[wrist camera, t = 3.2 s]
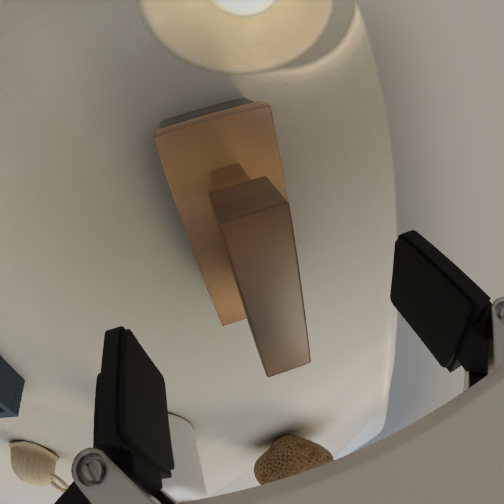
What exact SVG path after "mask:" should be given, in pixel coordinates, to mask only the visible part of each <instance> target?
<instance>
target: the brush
mask: <svg viewBox="0 0 504 504" xmlns="http://www.w3.org/2000/svg"><path fill="white" fill-rule="evenodd" d="M153 139H154V142H155V145H156V149H157V152H158V155H159V158H160V161H161V164H162V167H163V169H164V172H165V175H166V178H167V181H168V184H169V187H170V190H171V193H172V195H173V198H174V201H175V204H176V207H177V210H178V212H179V215H180V218H181V221H182V223H183V226H184V229H185V231H186V234H187V237H188V240H189V242H190V245H191V248H192V250H193V253H194V255H195V258H196V261H197V263H198V266H199V268H200V271H201V274H202V276H203V279H204V281H205V284H206V286H207V289H208V291H209V294H210V296H211V299H212V301H213V304H214V306H215V309H216V311H217V314H218V316H219V318H220V321H221V323H222V325H223V326H224V325H227V324H230V323H233V322H237V321H240V320H243V319H246V318H247V320H248V323H249V326H250V329H251V332H252V335H253V338H254V341H255V344H256V347H257V350H258V353H259V356H260V358H261V361H262V364H263V367H264V370H265V373H266V376H267V377H271V376H274V375H277V374H280V373H283V372H286V371H288V370H291V369H294V368H297V367H300V366H302V365H305V364H308V363H310V362H311V360H310V351H309V342H308V334H307V326H306V318H305V310H304V302H303V294H302V287H301V280H300V273H299V266H298V259H297V252H296V245H295V238H294V232H293V225H292V219H291V213H290V207H289V203H288V201H287V195H286V189H285V183H284V177H283V171H282V166H281V160H280V155H279V149H278V144H277V138H276V133H275V128H274V122H273V117H272V112H271V107H270V105H268V104H266V103H263V102H261V101H258V102H253V101H251V100H248V99H246V98H242V99H238V100H234V101H230V102H226V103H222V104H218V105H215V106H211V107H207V108H204V109H200V110H197V111H193V112H190V113H187V114H183V115H180V116H177V117H174V118H170V119H167V120H164V121H162V122H161V124H160V129H158V130H156V131H155V133H154V138H153Z"/></svg>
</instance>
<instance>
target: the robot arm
mask: <svg viewBox="0 0 504 504" xmlns="http://www.w3.org/2000/svg"><path fill="white" fill-rule="evenodd" d="M390 297H391V301H392V303H393V305H394V306H395V307H396V309H397V310H398V311H399V312H400V313H401V315H402V316H403V317H404V318H405V320H406V321H407V322H408V323H409V325H410V326H411V327H412V329H413V330H414V331H415V332H416V334H417V335H418V336H419V337H420V339H421V340H422V341H423V343H424V344H425V345H426V347H427V348H428V349H429V350H430V352H431V353H432V354H433V356H434V357H435V358H436V360H437V361H438V362H439V364H440V365H441V366H442V367H446V368H447V369H448V370H449V372H452V371H454V370H455V369H457V368H458V367H460V366H461V365H462V366H463V368H464V369H465V379H464V392H463V393H461V394H460V395H458V396H457V397H455V398H453V399H452V400H451V401H449V402H447V403H446V404H444V405H443V406H441V407H439V408H438V409H436V410H434V411H433V412H431V413H429V414H428V415H426V416H424V417H423V418H421V419H419V420H417V421H416V422H414V423H412V424H410V425H408V426H407V427H405V428H403V429H401V430H399V431H397V432H395V433H393V434H391V435H390V436H388V437H386V438H384V439H382V440H379V441H378V442H375V443H373V444H371V445H369V446H367V447H365V448H362V449H360V450H358V451H356V452H354V453H351V454H349V455H346V456H344V457H342V458H339V459H337V460H334V461H332V462H329V463H327V464H324V465H321V466H319V467H316V468H313V469H311V470H308V471H305V472H302V473H299V474H296V475H293V476H290V477H287V478H284V479H281V480H277V481H274V482H271V483H267V484H264V485H260V486H256V487H253V488H249V489H245V490H241V491H236V492H232V493H228V494H223V495H219V496H214V497H210V498H205V499H199V500H194V501H188V502H182V503H179V502H178V501H176V500H175V499H174V498H173V497H171V496H170V495H169V494H168V493H167V492H165V491H164V490H163V489H162V488H163V486H162V479H166V478H172V475H171V470H174V467H175V465H174V458H173V451H172V443H171V436H170V427H169V419H168V410H167V400H166V390H165V382H164V378H163V376H162V374H161V373H160V371H159V370H158V369H157V367H156V366H155V365H154V363H153V362H152V361H151V359H150V358H149V356H148V355H147V354H146V352H145V351H144V349H143V348H142V346H141V345H140V344H139V342H138V341H137V339H136V338H135V336H134V335H133V333H132V332H131V330H129V329H127V330H125V328H124V327H117V328H114V329H110V330H107V331H106V332H105V338H104V347H103V356H102V367H101V373H99V374H98V376H97V382H96V396H95V412H94V443H93V448H87V449H84V450H82V451H81V452H80V453H78V454H77V456H76V457H75V458H74V461H73V463H72V470H71V472H72V477H73V479H74V482H73V483H72V484H71V485H70V486H69V487H68V489H67V490H66V491H65V492H64V493H63V494H62V496H61V497H60V498H59V499H58V500H57V501H56V502H55V504H504V297H501V298H498V299H496V300H495V301H494V302H493V304H492V303H491V302H490V297H489V296H488V295H487V294H486V293H485V292H483V290H482V289H480V287H478V286H477V285H476V284H475V283H474V282H473V281H472V280H471V279H470V278H469V277H468V276H467V275H466V274H465V273H464V272H462V271H461V270H460V269H459V268H458V267H457V266H456V265H455V264H454V263H453V262H451V261H450V260H449V259H448V258H447V257H445V255H444V254H442V253H441V252H440V251H439V250H438V249H437V248H435V247H434V246H433V245H432V244H431V243H429V242H428V241H427V240H426V239H425V238H423V237H422V236H421V235H420V234H419V233H418V232H416V231H414V230H412V231H409V232H406V233H403V234H401V235H399V237H398V240H397V241H396V242H395V251H394V264H393V275H392V285H391V294H390Z"/></svg>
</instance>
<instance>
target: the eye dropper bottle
mask: <svg viewBox="0 0 504 504" xmlns="http://www.w3.org/2000/svg"><path fill="white" fill-rule="evenodd" d="M168 419H169V427H170V436H171V443H172V451H173V458H174V465H175V467H174V470H171V475H172V478H166V479H162V486H163V488H162V489H163V490H164V491H165V492H167V493H168V494H169V495H170V496H171V497H173V498H174V499H175V500H176V501H178V502H179V503H182V502H188V501H194V500H199V499H205V497H206V487H205V482H204V477H203V472H202V467H201V463H200V458H199V452H198V447H197V442H196V437H195V432H194V429H193V427H192V426H191V424H190V423H189V422H187V421H186V420H184V419H183V418H180V417H178V416H175V415H172V414H168Z"/></svg>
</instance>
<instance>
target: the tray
mask: <svg viewBox="0 0 504 504" xmlns="http://www.w3.org/2000/svg"><path fill="white" fill-rule="evenodd" d="M24 382H25V381H24V380H23V379H22V378H21V377H20V376H19V375H18V374H17V373H16V372H15V371H14V370H13V369H12V368H11V367H10V366H9V365H8V364H7V363H6V362H5V361H4V360H3V359H2V357H1V356H0V418H4V417H16V416H18V413H19V408H20V402H21V397H22V392H23V386H24Z"/></svg>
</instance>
